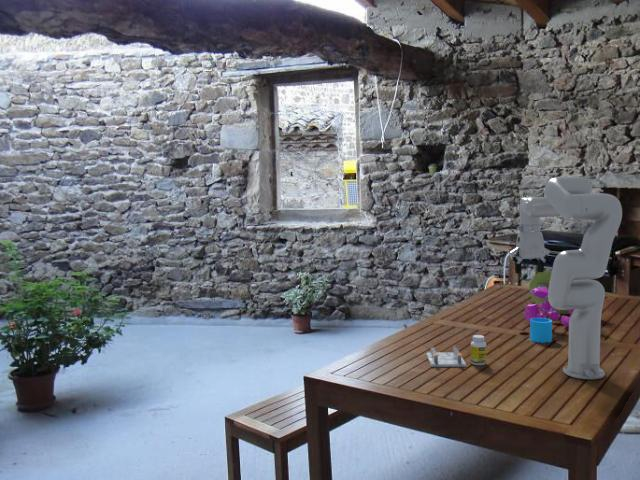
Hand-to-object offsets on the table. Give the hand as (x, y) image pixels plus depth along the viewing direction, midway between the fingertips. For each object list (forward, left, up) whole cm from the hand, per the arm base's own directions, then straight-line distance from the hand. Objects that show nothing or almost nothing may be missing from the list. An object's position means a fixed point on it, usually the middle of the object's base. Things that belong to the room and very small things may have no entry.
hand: (529, 272), depth 233 cm
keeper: (-23, +36, -28) cm, 51 cm away
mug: (+5, -7, -28) cm, 30 cm away
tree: (+32, -22, -28) cm, 49 cm away
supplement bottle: (-26, +25, -28) cm, 46 cm away
